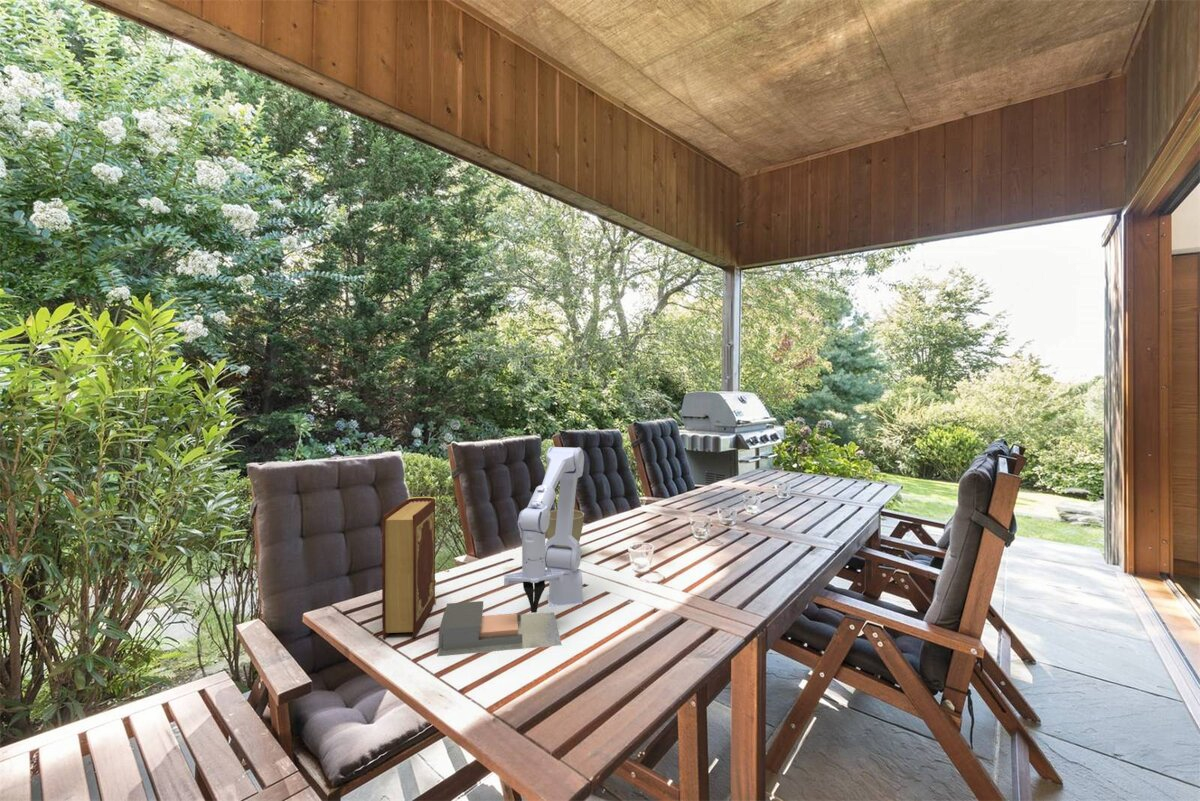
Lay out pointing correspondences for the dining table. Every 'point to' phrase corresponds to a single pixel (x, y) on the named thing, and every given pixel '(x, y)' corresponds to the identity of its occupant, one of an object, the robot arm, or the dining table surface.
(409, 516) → the decorative book
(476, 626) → the dock
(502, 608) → the dining table surface
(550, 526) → the plant pot
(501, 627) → the peach rectangular panel
